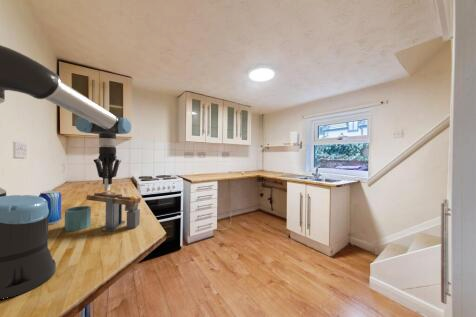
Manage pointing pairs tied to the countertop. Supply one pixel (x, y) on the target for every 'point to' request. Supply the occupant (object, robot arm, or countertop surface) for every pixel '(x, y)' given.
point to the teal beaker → (77, 218)
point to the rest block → (133, 218)
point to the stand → (113, 215)
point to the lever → (115, 200)
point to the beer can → (53, 205)
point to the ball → (133, 198)
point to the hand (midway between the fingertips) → (107, 190)
